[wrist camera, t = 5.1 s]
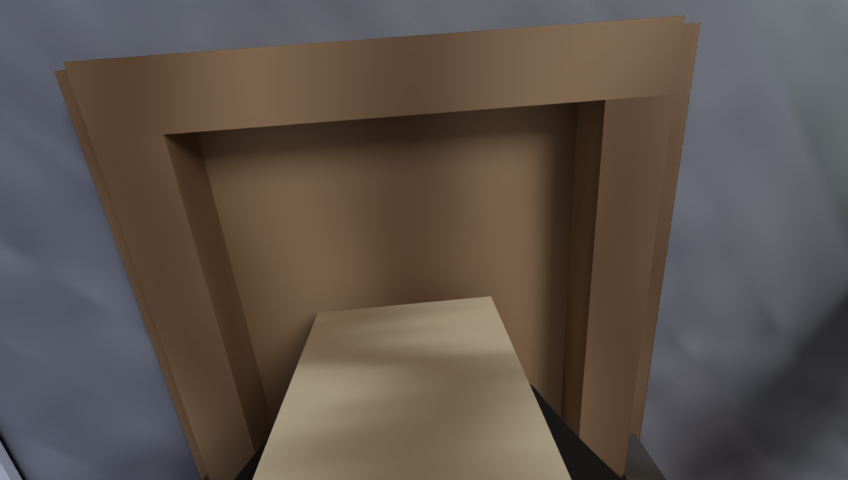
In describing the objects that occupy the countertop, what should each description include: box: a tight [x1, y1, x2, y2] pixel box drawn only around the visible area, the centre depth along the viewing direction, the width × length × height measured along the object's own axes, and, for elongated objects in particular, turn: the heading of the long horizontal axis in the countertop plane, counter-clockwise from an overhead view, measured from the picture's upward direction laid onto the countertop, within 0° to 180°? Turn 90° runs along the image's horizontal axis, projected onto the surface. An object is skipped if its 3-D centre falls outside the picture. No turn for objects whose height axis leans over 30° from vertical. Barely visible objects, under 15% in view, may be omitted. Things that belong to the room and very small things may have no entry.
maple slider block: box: [253, 296, 571, 480], centre depth 10 cm, size 5×5×6 cm
